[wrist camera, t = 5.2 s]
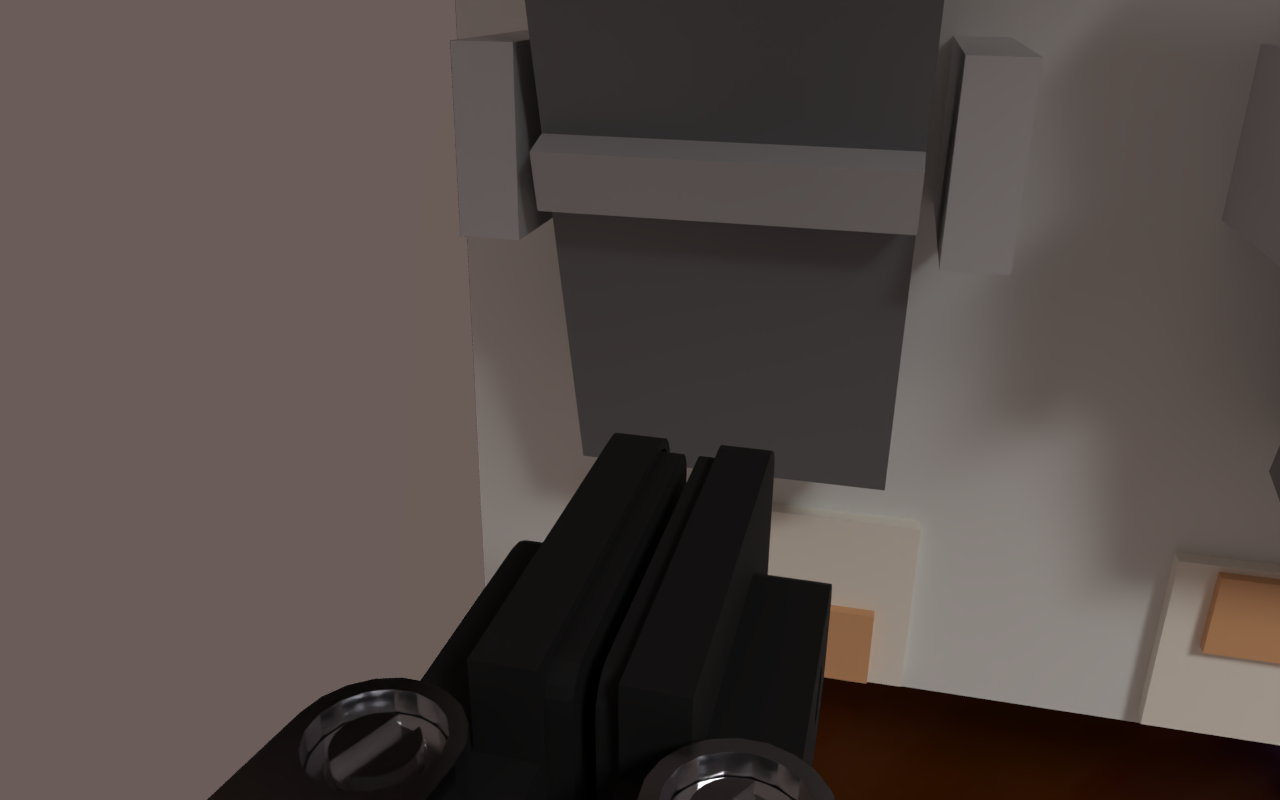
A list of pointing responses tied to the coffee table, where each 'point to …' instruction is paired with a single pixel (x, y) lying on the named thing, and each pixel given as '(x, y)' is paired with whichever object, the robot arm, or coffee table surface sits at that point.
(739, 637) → the robot arm
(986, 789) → the coffee table surface
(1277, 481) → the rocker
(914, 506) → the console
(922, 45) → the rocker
